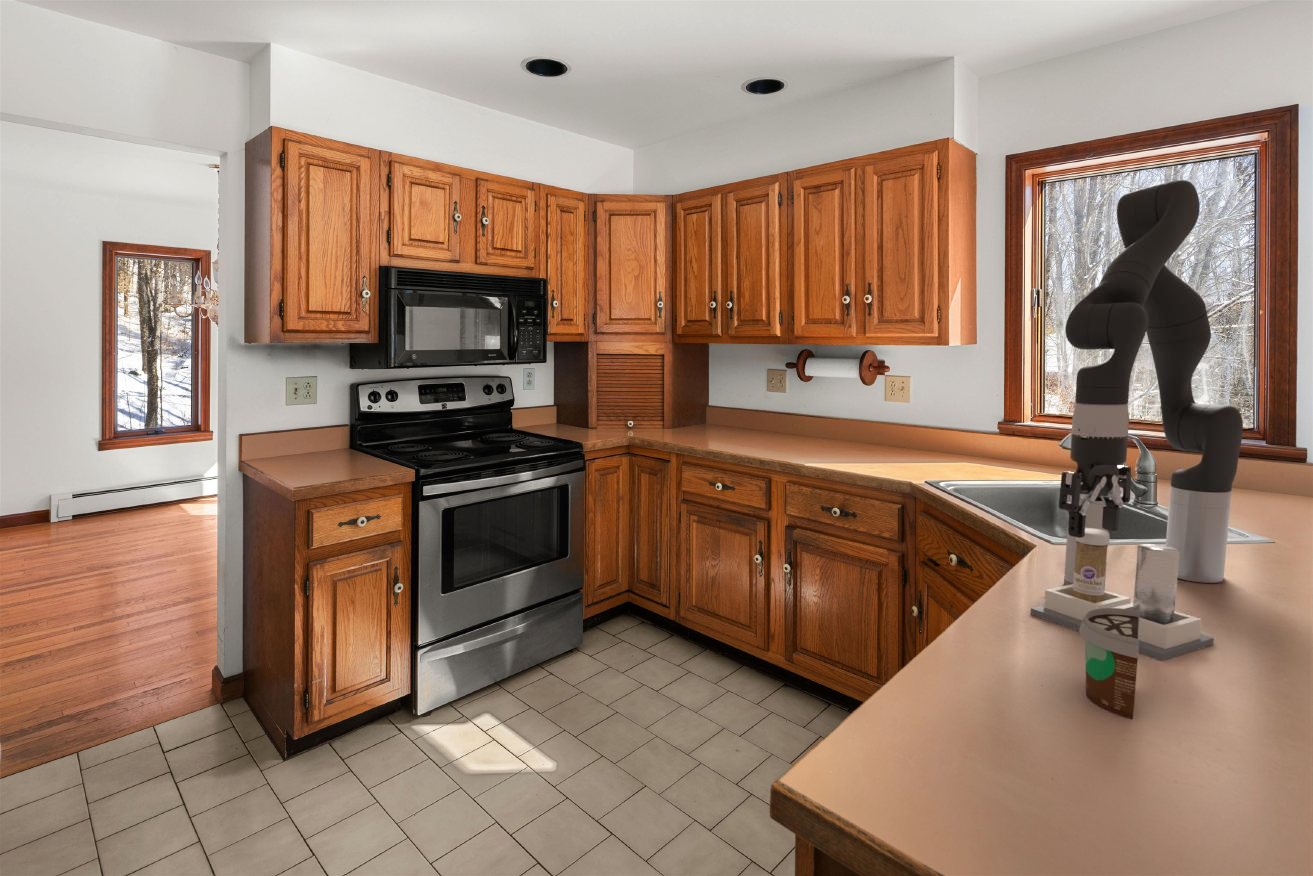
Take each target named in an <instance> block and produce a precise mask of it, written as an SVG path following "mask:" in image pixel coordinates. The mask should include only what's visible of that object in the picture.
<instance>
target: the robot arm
mask: <svg viewBox="0 0 1313 876" xmlns="http://www.w3.org/2000/svg"><path fill="white" fill-rule="evenodd" d="M1199 197H1200V196H1199V195H1198V191H1197V189H1196V187H1195V185H1194V184H1193V183H1192V182H1191V181H1189V180H1186V179H1178V180H1172V181H1167V182H1163V183H1159V184H1156V185H1152V186H1148V187H1145V188H1140V189H1136V190H1134V191H1131V192H1128V193H1125V194H1124V195H1122V196H1121V197H1120V198H1119V199H1118V202H1117V204H1116V220H1117V227H1118V230H1119V234H1120V237H1121V241H1122V244H1123V246H1124V249H1123V251H1121V252H1120V253H1119V254H1118V255H1117V256H1116V257H1114V259H1113V260H1112V261H1111V262H1110V263H1109V265H1108V267H1107V268H1106V269H1105V272H1104V274H1103V276H1102V277H1101V280H1100V281H1099V284H1098V285H1097V286H1096V287H1095V288H1093V290H1091V291H1090V292H1089V293H1088V294H1086V296H1085V297H1083V298H1082V300H1080V301H1078V303H1077V304H1076V305H1075V306H1074V308H1073V309H1072V310H1071V312H1070V313H1069V315H1068V318H1067V320H1066V324H1065V329H1064V330H1065V331H1064V332H1065V337H1066V339H1067V341H1068V343H1069V344H1070V345H1071V346H1072V347H1074V348H1076V349H1078V350H1087V351H1088V350H1090V351H1091V350H1114V351H1113V353H1112V355H1111V356H1110V358H1108V360H1107V361H1105V362H1101V363H1096V364H1092V365H1091V364H1090V365H1086V366H1083V367H1081V368H1080V369H1078V371H1077V373H1076V380H1075V381H1076V382H1075V385H1076V386H1075V387H1076V388H1075V399H1074V400H1075V403H1074V410H1073V413H1072V422H1071V423H1072V424H1071V437H1070V439H1071V441H1070V457H1069V458H1070V460H1071V461H1073V462H1075V463H1076V465H1077V466H1076V470H1075V471H1073V472H1072V471H1065V470H1063V472H1062V473H1061V478H1060V490H1059V498H1058V499H1059V500H1058V508H1059V509H1060V510H1064V511H1066V512H1068V514H1069V522H1068V521H1067V529H1068V533H1069V535H1070V536H1073V537H1078V538H1081V537H1084V536H1085V521H1086V515H1085V512H1086V510H1087V508H1088V506H1089V504H1090V503H1093V502H1094V501H1095V499H1096V498H1097V497H1101V499H1102V501H1103V503H1104V505H1106V506H1103V518H1102V528H1103V529H1106V530H1108V531H1111V532H1115V531H1118V529H1119V523H1120V509H1121V508H1123V506H1124V503H1125V504H1129V503H1130V501H1131V486H1132V485H1131V484H1132V481H1131V480H1132V467H1131V466H1127V465H1123V464H1125V463H1126V462H1127V454H1128V453H1127V452H1128V443H1129V441H1128V440H1129V426H1130V425H1129V424H1130V414H1129V395H1130V394H1129V392H1130V382H1131V381H1130V380H1131V375H1132V370H1133V368H1134V364H1135V361H1136V358H1137V356H1138V353H1139V351H1140V348H1141V345H1142V343H1143V341H1144V339H1145V336H1146V337H1147V339H1148V343H1149V347H1150V351H1151V355H1152V359H1153V362H1154V363H1153V364H1154V369H1155V372H1156V373H1155V374H1156V378H1157V383H1158V384H1157V385H1158V391H1159V399H1160V411H1161V419H1162V421H1161V422H1162V428H1163V431H1164V435H1165V436H1164V437H1165V438H1166V440H1167V441H1166V442H1167V443H1168V444H1169V445H1170V446H1171V447H1172V448H1173V449H1177V450H1179V451H1184V452H1195V453H1200V454H1201V453H1202V456H1201V459H1200V462H1199V463H1198V464H1196V465H1194V466H1192V467H1189V468H1188V467H1187V468H1181V469H1177V470H1175V471H1172V473H1171V477H1170V488H1169V489H1170V490H1169V499H1168V501H1169V502H1168V510H1167V511H1168V513H1167V523H1166V525H1167V527H1166V536H1165V546H1168V547H1172V548H1175V549H1178V550H1179V563H1178V575H1177V579H1180V580H1183V581H1188V582H1193V583H1202V584H1203V583H1205V584H1207V583H1208V584H1215V583H1221V582H1223V581H1224V578H1225V569H1226V568H1225V567H1226V559H1227V558H1226V556H1227V554H1226V553H1227V545H1228V537H1229V536H1228V533H1229V523H1230V522H1229V521H1230V514H1231V513H1230V512H1231V500H1232V490H1233V482H1234V480H1235V478H1236V474H1237V471H1238V466H1239V465H1238V463H1239V458H1240V457H1239V456H1240V450H1241V445H1242V440H1243V431H1244V430H1243V429H1244V423H1243V418H1242V414H1241V412H1240V410H1238V408H1237V407H1235V406H1233V405H1228V404H1214V403H1213V404H1212V403H1196V402H1195V398H1194V395H1193V389H1192V379H1193V375H1194V373H1195V371H1196V369H1197V367H1198V366H1199V364H1200V362H1201V360H1202V359H1203V357H1204V355H1205V353H1206V352H1207V350H1208V348H1209V345H1210V342H1211V338H1212V334H1211V333H1212V332H1211V324H1210V320H1209V316H1208V312H1207V307H1206V303H1205V301H1204V299H1203V297H1202V296H1201V295H1200V294H1199V293H1198V292H1197V291H1195V289H1194V288H1193V287H1191V286H1190V285H1189V284H1188V283H1186V282H1185V281H1184V280H1183V279H1182V278H1181V277H1179V276H1178V275H1177V274H1175V273H1174V272H1173V271H1172V270H1171V269H1170V268H1169V267H1168V266H1167V265H1166V263H1167V261H1169V259H1170V258H1171V257H1172V256H1173V255H1174V253H1175V252H1176V251H1177V250H1178V248H1179V247H1180V246H1181V245H1182V244H1183V242H1184V241H1185V239H1186V238H1187V237H1188V236H1189V235H1190V233H1191V232H1192V231H1193V230H1194V228H1195V226H1196V224H1197V222H1198V219H1199V216H1200V209H1201V205H1200V204H1201V203H1200V198H1199ZM1080 490H1081V492H1082V494H1080ZM1068 496H1069V500H1068ZM1070 496H1071V498H1070ZM1079 501H1082V503H1081V505H1080V506H1079ZM1068 523H1069V524H1068Z"/></svg>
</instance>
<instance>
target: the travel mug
mask: <svg viewBox="0 0 1313 876" xmlns="http://www.w3.org/2000/svg"><path fill="white" fill-rule="evenodd" d="M1080 494H1082V492H1081V490H1080ZM1070 498H1071V496H1070V495H1069V499H1070ZM1081 503H1082V501H1079V506H1080V505H1081ZM1103 506H1106V505H1104V503H1103V501H1102V499H1101V497H1097V498H1096V499H1095V501H1094V502H1093V503H1090V504H1089V506H1088V508H1087V510H1086V512H1085V515H1086V521H1085V528H1094V529H1100V530H1104V531H1107V532H1108V533H1109V530H1106V529H1103V528H1102V518H1103ZM1067 515H1068V517H1067V525H1068V524H1069V523H1068V522H1069V513H1068V514H1067ZM1066 532H1067V533H1066V547H1065V548H1066V549H1065V561H1064V577H1063V578H1064V579H1063V584H1064V586H1066V585H1071V584H1073V582H1074V569H1075V558H1076V557H1075V556H1076V546H1077V543H1076V537H1073V536H1070V535H1069V533H1068V528H1067V531H1066Z"/></svg>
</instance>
